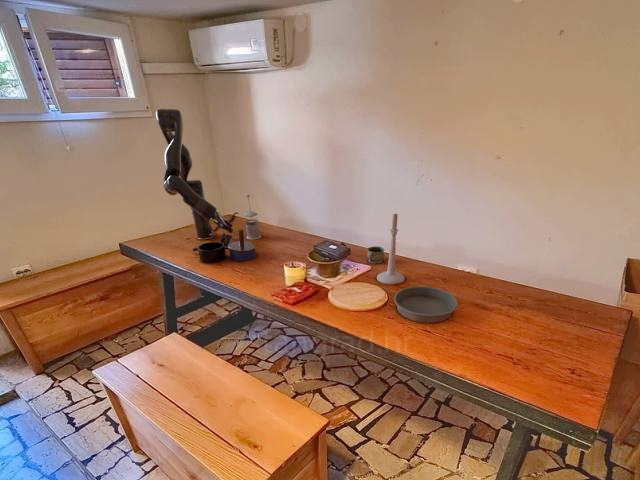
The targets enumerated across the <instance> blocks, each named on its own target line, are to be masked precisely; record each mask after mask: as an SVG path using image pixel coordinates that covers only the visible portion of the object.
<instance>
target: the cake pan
mask: <svg viewBox="0 0 640 480" xmlns="http://www.w3.org/2000/svg"><path fill="white" fill-rule="evenodd" d="M393 301H394V304H395V305H396V308H397V311H398V313H399V314H400V315H401V316H403V317H404V318H406V319H408V320H411V321H413V322H418V323H426V324H433V323H439V322H443V321H445V320H447V319H449V318H450V316H451V315H452V314H453V312H454V311H455V310H456V309H457V308H458V306H459V302H458V299H457V297H456V296H454V295H453V294H452V293H450V292H448V291H447V290H443V289H440V288H438V287H432V286H423V285H421V286H409V287H406V288H402V289H400V290H399V291H397V292H396V293H395V294H394V296H393Z"/></svg>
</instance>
